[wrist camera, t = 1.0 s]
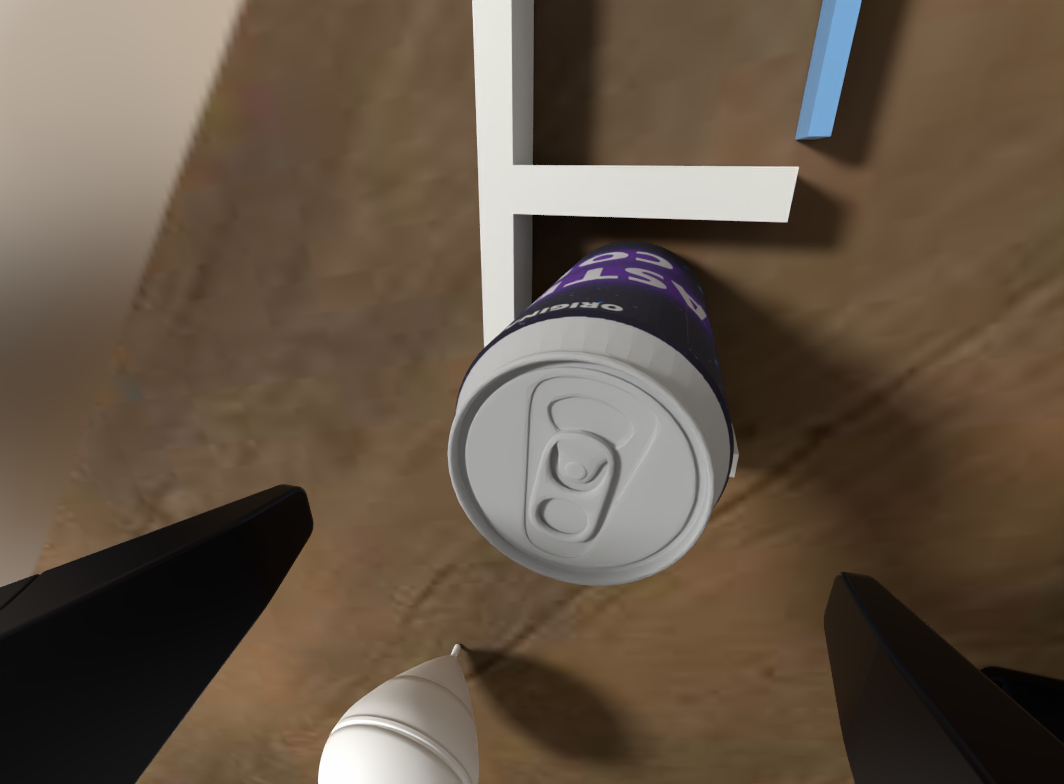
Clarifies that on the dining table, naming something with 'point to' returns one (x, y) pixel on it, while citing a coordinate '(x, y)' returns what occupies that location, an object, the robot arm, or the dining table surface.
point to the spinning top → (407, 731)
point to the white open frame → (610, 190)
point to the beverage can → (597, 422)
